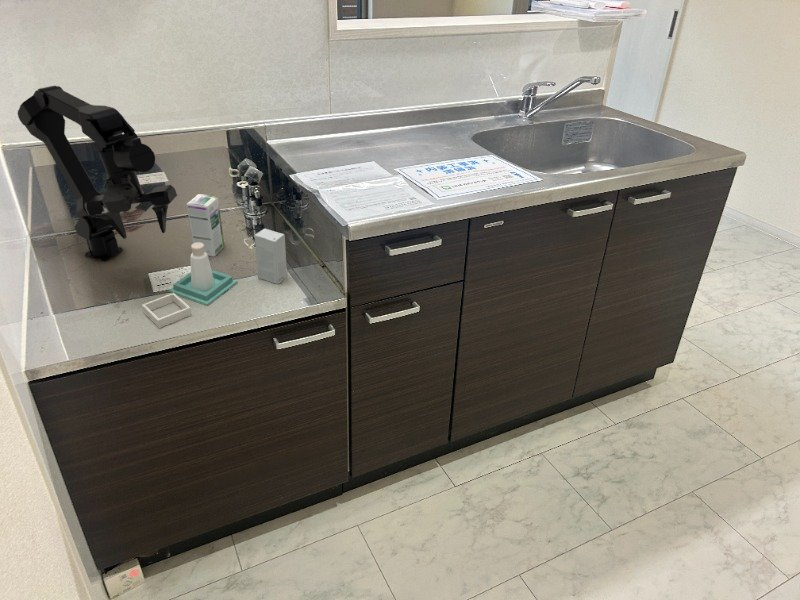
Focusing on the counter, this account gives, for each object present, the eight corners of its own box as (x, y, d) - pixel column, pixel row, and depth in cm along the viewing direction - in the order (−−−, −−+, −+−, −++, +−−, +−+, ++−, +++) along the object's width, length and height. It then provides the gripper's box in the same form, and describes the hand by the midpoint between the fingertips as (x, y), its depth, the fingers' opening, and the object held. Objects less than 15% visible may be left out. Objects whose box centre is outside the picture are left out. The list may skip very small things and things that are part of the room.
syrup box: (215, 257, 154) (208, 206, 146) (193, 253, 155) (185, 202, 147) (224, 246, 159) (219, 196, 150) (203, 243, 159) (197, 192, 151)
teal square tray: (169, 292, 140) (168, 285, 139) (200, 270, 149) (199, 263, 148) (207, 306, 137) (206, 298, 136) (237, 282, 145) (236, 275, 144)
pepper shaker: (199, 277, 145) (193, 237, 139) (219, 281, 144) (214, 241, 138) (186, 288, 141) (179, 248, 135) (207, 293, 140) (201, 252, 134)
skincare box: (287, 276, 149) (285, 234, 142) (277, 284, 146) (275, 241, 139) (267, 269, 151) (264, 227, 144) (257, 277, 148) (253, 235, 141)
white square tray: (143, 312, 134) (141, 304, 132) (175, 299, 138) (173, 292, 137) (159, 328, 129) (157, 320, 128) (191, 314, 134) (190, 307, 133)
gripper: (61, 187, 124) (90, 255, 132) (148, 173, 123) (173, 243, 131) (84, 171, 134) (110, 236, 141) (166, 159, 133) (187, 224, 140)
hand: (144, 235), depth 138 cm, fingers open, 9 cm apart
